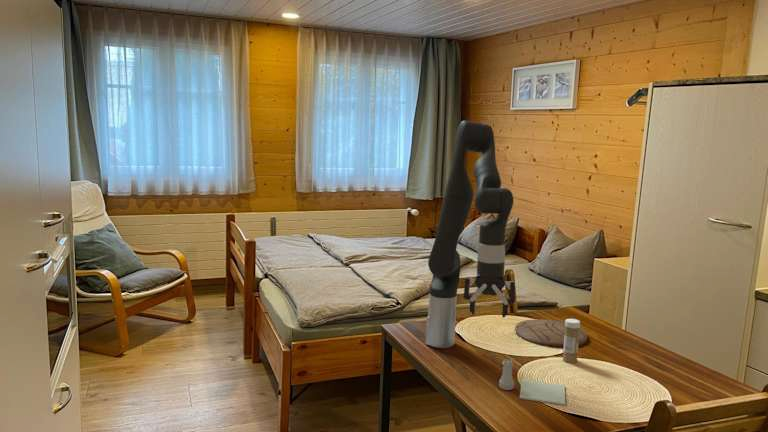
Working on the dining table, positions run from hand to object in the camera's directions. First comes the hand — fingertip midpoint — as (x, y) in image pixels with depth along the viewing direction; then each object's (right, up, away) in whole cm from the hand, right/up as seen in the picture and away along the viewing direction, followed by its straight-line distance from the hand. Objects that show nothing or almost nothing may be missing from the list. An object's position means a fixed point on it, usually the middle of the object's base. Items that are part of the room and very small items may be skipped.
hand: (488, 315), depth 166 cm
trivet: (+30, -15, +46) cm, 57 cm away
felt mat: (+15, -21, -2) cm, 26 cm away
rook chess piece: (+5, -21, +1) cm, 22 cm away
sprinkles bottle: (+30, -19, +22) cm, 42 cm away
